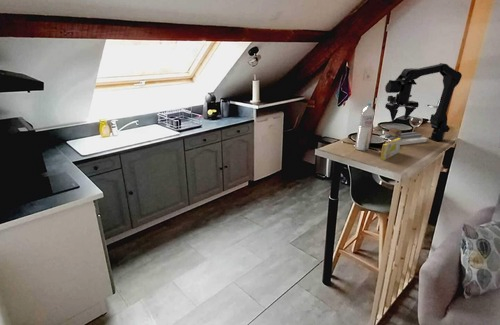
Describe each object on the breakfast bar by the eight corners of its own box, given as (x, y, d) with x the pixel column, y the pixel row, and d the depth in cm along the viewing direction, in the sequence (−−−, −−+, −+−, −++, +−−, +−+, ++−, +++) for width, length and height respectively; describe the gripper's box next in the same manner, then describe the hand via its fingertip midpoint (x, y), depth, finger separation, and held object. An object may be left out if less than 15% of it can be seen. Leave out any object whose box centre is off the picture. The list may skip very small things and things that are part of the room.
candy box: (394, 152, 156) (398, 137, 153) (398, 153, 155) (402, 138, 151) (379, 159, 147) (382, 143, 143) (383, 160, 145) (386, 145, 142)
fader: (393, 136, 173) (395, 127, 171) (399, 138, 169) (401, 130, 167) (387, 136, 172) (389, 128, 170) (394, 139, 168) (396, 130, 165)
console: (410, 135, 182) (411, 130, 180) (426, 141, 172) (428, 136, 170) (378, 139, 175) (380, 133, 174) (393, 145, 165) (394, 139, 163)
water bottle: (367, 147, 161) (376, 102, 151) (368, 152, 155) (377, 105, 145) (354, 146, 163) (362, 101, 153) (354, 150, 157) (362, 104, 147)
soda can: (371, 145, 165) (375, 124, 160) (358, 144, 166) (362, 124, 161) (369, 141, 171) (373, 121, 166) (356, 140, 172) (360, 120, 168)
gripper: (406, 89, 172) (400, 115, 178) (380, 91, 166) (376, 117, 172) (422, 92, 162) (415, 119, 168) (395, 94, 156) (389, 122, 163)
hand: (398, 119), depth 168 cm, fingers open, 9 cm apart
